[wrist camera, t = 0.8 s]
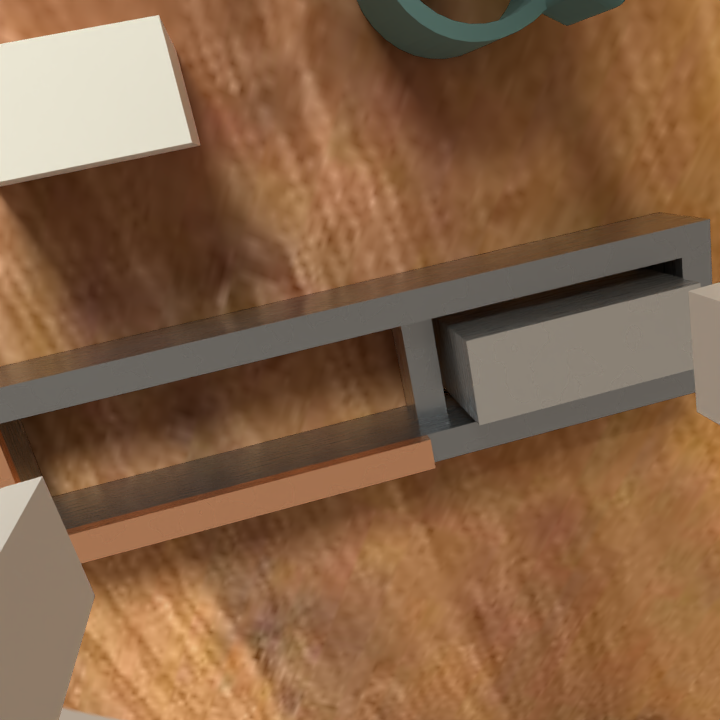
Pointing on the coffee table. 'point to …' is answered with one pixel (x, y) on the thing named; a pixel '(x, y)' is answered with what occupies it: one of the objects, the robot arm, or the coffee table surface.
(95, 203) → the coffee table surface
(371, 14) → the teal cylindrical holder
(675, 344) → the rack
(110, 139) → the block
